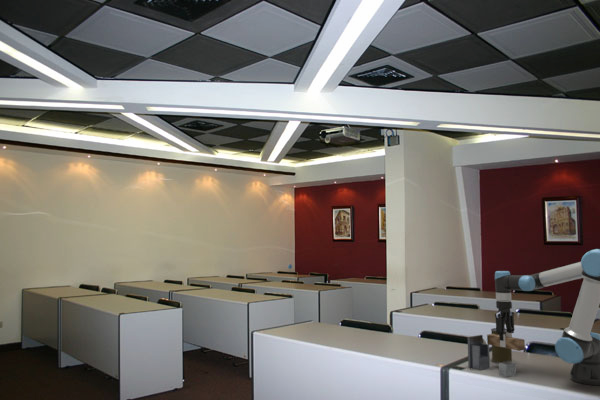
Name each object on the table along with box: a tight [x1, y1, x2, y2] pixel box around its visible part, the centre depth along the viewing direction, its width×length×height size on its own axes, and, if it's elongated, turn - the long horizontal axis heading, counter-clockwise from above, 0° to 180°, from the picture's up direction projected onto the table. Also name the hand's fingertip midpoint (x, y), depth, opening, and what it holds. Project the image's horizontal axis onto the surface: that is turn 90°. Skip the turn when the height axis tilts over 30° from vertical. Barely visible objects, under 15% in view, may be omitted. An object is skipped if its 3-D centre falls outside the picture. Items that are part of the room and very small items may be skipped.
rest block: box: [498, 361, 517, 378], centre depth 230 cm, size 4×8×6 cm, turn 123°
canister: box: [490, 327, 513, 364], centre depth 258 cm, size 11×10×20 cm
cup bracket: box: [467, 334, 491, 371], centre depth 244 cm, size 6×11×16 cm, turn 123°
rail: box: [486, 333, 526, 352], centre depth 242 cm, size 18×5×5 cm, turn 33°
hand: (506, 346), depth 241 cm, fingers closed on rail, 5 cm apart
